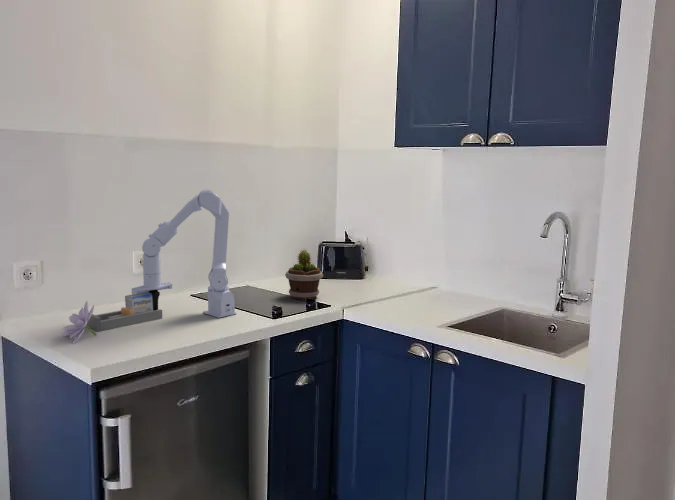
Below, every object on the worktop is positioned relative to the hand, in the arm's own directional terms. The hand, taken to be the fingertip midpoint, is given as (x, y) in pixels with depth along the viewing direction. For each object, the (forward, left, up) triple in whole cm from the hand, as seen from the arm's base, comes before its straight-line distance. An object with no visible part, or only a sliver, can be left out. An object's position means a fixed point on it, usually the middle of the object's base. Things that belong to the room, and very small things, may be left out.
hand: (153, 311), depth 208 cm
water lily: (-6, +29, -2) cm, 30 cm away
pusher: (0, +13, -1) cm, 13 cm away
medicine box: (0, +5, -2) cm, 5 cm away
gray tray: (0, +11, -2) cm, 11 cm away
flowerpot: (-15, -59, -2) cm, 61 cm away
